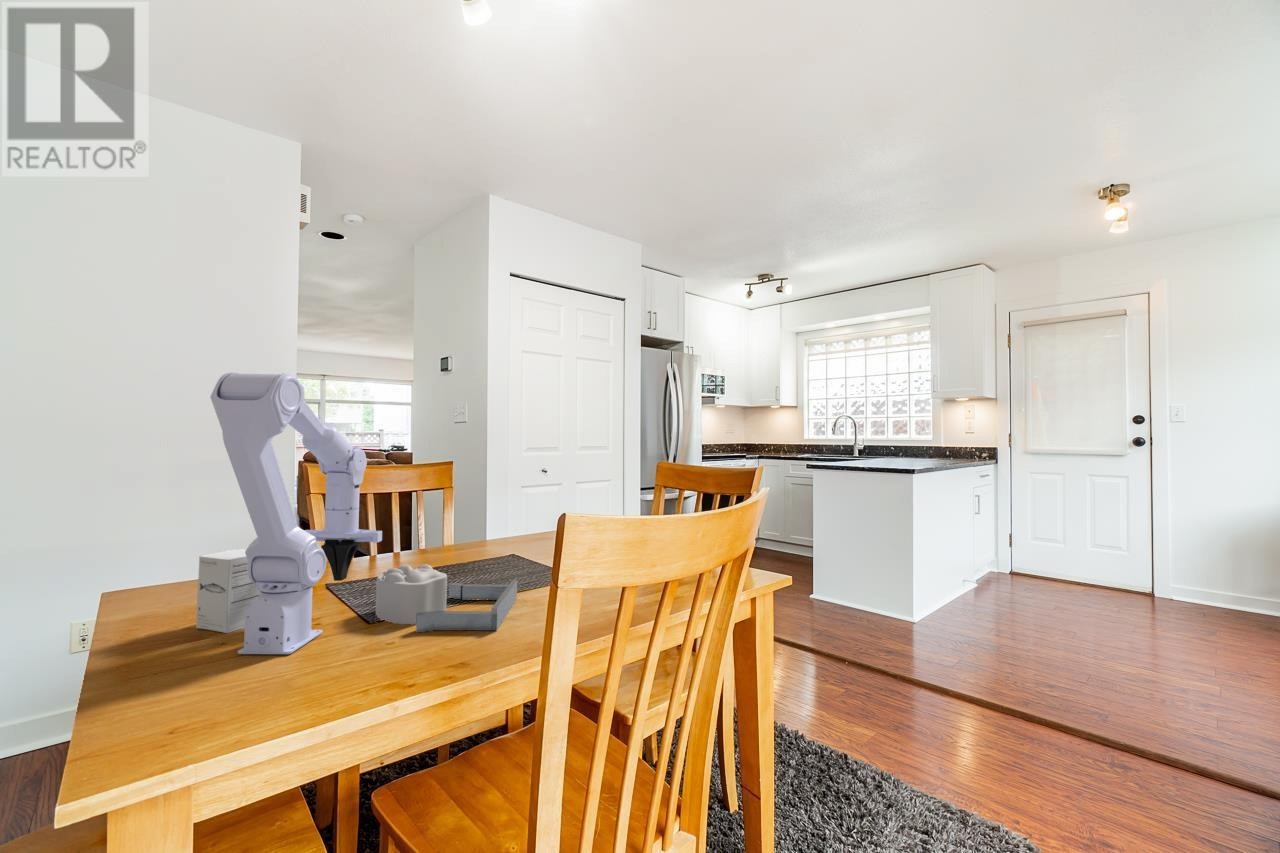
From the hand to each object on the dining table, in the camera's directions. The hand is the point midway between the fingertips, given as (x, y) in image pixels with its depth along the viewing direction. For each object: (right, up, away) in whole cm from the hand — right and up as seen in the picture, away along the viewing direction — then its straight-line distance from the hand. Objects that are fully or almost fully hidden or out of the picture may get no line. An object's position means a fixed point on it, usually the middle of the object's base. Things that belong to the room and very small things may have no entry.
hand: (340, 579), depth 103 cm
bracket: (+25, -7, +1) cm, 26 cm away
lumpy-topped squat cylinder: (+13, -7, 0) cm, 15 cm away
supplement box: (-15, -6, -8) cm, 18 cm away
